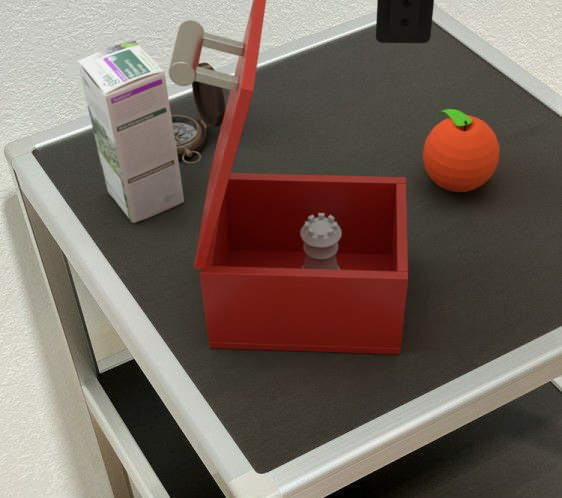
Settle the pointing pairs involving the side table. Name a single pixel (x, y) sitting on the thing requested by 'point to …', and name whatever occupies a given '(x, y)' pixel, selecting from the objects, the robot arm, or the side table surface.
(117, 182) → the syrup box
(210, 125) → the compass
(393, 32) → the robot arm
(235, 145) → the red box lid
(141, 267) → the side table surface
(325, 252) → the rook chess piece
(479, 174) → the clementine
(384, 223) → the red box
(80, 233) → the side table surface
